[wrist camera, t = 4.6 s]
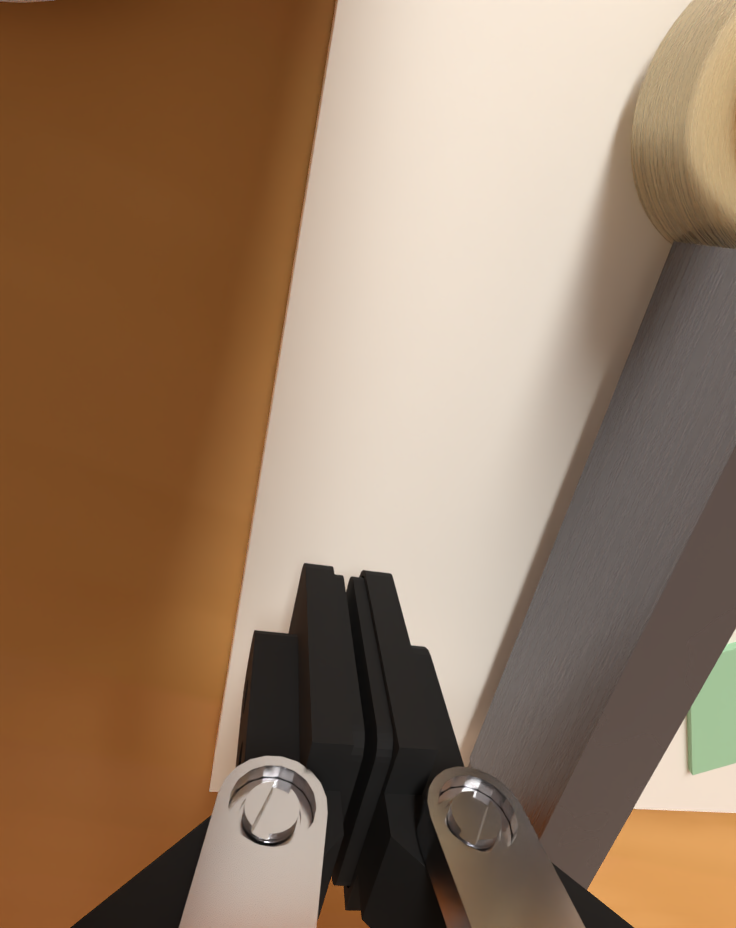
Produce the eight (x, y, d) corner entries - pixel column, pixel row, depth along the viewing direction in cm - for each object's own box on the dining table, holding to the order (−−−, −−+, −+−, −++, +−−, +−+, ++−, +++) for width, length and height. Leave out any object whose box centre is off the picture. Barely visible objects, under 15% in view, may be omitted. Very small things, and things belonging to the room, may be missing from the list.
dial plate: (418, -510, 8) (450, -685, 6) (1383, -37, 12) (1549, -71, 10) (215, 742, 17) (208, 798, 15) (804, 776, 20) (846, 823, 19)
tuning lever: (703, -95, 8) (1302, -515, 3) (945, -1, 9) (1709, -228, 4) (414, 748, 15) (477, 1031, 10) (573, 758, 16) (705, 1021, 11)
